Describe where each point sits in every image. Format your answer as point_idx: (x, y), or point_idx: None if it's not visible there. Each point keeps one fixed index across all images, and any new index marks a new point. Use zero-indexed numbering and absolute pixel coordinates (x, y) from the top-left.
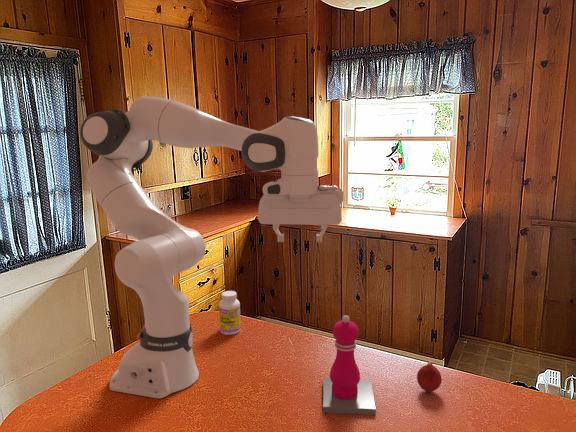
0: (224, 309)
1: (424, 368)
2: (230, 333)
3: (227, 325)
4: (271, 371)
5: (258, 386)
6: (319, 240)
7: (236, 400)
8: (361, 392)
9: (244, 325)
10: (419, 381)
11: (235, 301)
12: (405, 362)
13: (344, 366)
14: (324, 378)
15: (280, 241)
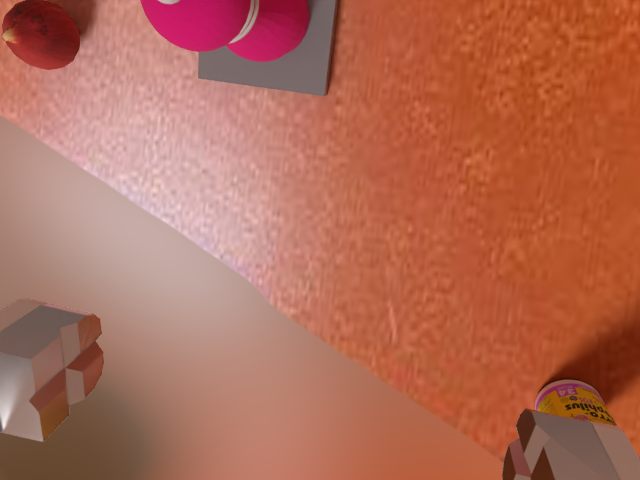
0: None
1: (32, 29)
2: (570, 381)
3: (588, 399)
4: (467, 169)
5: (517, 92)
6: (40, 311)
7: (596, 19)
8: None
9: None
10: (68, 23)
11: None
12: (109, 178)
13: None
14: (321, 93)
15: (571, 419)
